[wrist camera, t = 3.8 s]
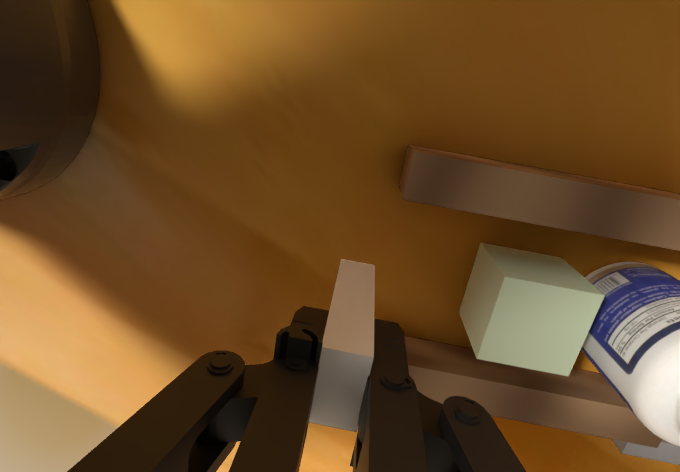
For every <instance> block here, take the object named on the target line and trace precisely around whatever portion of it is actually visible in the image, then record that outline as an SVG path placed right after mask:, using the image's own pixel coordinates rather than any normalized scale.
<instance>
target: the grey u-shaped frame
mask: <svg viewBox="0 0 680 472" xmlns="http://www.w3.org/2000/svg"><path fill="white" fill-rule="evenodd" d="M612 441H613V442H614V444H615V445H616V446H617V448H618V449H619V451H620V452H621V454H626V455H631V456H636V457H642V458H647V459H652V460H657V461H662V462H667V463H672V464H677V465H680V446H677V445H674V444H671V443H669V442H667V441H665V440H662V441H661V443H660V445H659V446H658V448H654V447H649V446H644V445H638V444H633V443H628V442H623V441H618V440H613V439H612Z"/></svg>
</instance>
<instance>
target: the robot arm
mask: <svg viewBox="0 0 680 472" xmlns="http://www.w3.org/2000/svg"><path fill="white" fill-rule="evenodd" d="M99 80H100V69H99V52H98V45H97V38H96V33H95V28H94V23H93V20H92V16H91V12H90V9H89V6H88V3H87V0H0V200H1V199H5V198H9V197H12V196H16V195H20V194H23V193H26V192H29V191H32V190H34V189H36V188H39V187H41V186H43V185H44V184H46V183H48V182H49V181H51V180H52V179H54V178H55V177H56V176H58V175H59V174H60V173H61V172H62V171H63V170H64V169H65V168H66V167H67V166H68V165H69V164H70V163H71V162H72V160H73V159H74V158H75V156H76V155H77V154H78V152H79V150H80V149H81V147H82V146H83V144H84V142H85V140H86V138H87V136H88V133H89V131H90V128H91V125H92V122H93V119H94V115H95V111H96V106H97V101H98V93H99ZM374 308H375V265H373V264H368V263H362V262H357V261H352V260H347V259H341V261H340V266H339V270H338V275H337V279H336V284H335V288H334V292H333V297H332V301H331V306H330V310H329V311H327V310H322V309H316V308H311V307H306V306H303V307H302V308H300V309H299V310H298V311H296V312H295V315H294V317H293V320H292V322H291V325H290V326H288V327H285V328H283V329H281V330H280V331H279V332H278V333H277V337H276V345H275V352H274V359H273V360H272V361H270V362H268V363H264V364H259V365H245V363H244V360H243V359H242V358H241V356H239V355H237V354H236V353H234V352H229V351H213V352H210V353H207V354H205V355H203V356H202V357H200V358H199V359H198V360H196V361H195V362H194V363H193V364H192V365H191V366H189V367H188V368H187V369H186V370H185V371H184V372H182V373H181V374H180V375H179V376H178V377H177V378H176V379H174V380H173V381H172V382H171V383H170V384H169V385H167V386H166V387H165V388H164V389H163V390H162V391H160V392H159V393H158V394H157V395H156V396H155V397H153V398H152V399H151V400H150V401H149V402H148V403H146V404H145V405H144V406H143V407H142V408H141V409H139V410H138V411H137V412H136V413H135V414H134V415H133V416H131V417H130V418H129V419H128V420H127V421H126V422H124V423H123V424H122V425H121V426H120V427H119V428H117V429H116V430H115V431H114V432H113V433H112V434H110V435H109V436H108V437H107V438H106V439H105V440H103V442H101V443H100V444H99V445H98V446H97V447H95V448H94V449H93V450H92V451H91V452H90V453H88V454H87V455H86V456H85V457H84V458H83V459H81V460H80V461H79V462H78V463H77V464H76V465H74V466H73V467H72V468H71V469H70V470H69V471H68V472H216V471H217V469H218V468H219V467H220V465H221V464H222V463H223V461H224V460H225V459H226V457H227V456H228V455H229V453H230V452H231V451H232V449H233V448H234V446H235V444H236V442H237V441H241V442H240V445H239V447H238V450H237V452H236V455H235V457H234V460H233V462H232V465H231V467H230V470H229V472H299V467H300V462H301V458H302V453H303V448H304V443H305V438H306V433H307V428H308V422H310V423H314V424H319V425H324V426H329V427H334V428H339V429H344V430H349V431H354V432H356V431H357V427H358V434H357V438H356V442H355V447H354V451H353V455H352V459H351V463H350V466H353V472H526V471H525V469H524V467H523V466H522V464H521V463H520V461H519V460H518V458H517V456H516V455H515V453H514V452H513V450H512V449H511V447H510V446H509V444H508V442H507V441H506V439H505V438H504V436H503V435H502V433H501V431H500V430H499V428H498V427H497V425H496V424H495V422H494V420H493V419H492V417H491V416H490V414H489V413H488V412H487V411H486V410H485V408H484V407H483V406H481V405H480V404H478V403H477V402H476V401H474V400H471V399H469V398H467V397H462V396H451V397H448V398H447V399H446V400H444V403H443V404H441V403H439V402H437V401H434V400H432V399H430V398H428V397H426V396H424V395H423V394H422V393H420V392H419V391H418V390H417V387H416V384H415V382H414V380H413V379H412V378H411V377H410V375H409V370H408V361H407V353H406V344H405V335H404V331H403V330H402V329H401V327H400V326H399V324H398V323H393V322H388V321H383V320H378V319H374Z"/></svg>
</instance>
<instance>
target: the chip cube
mask: <svg viewBox="0 0 680 472" xmlns="http://www.w3.org/2000/svg"><path fill="white" fill-rule="evenodd" d="M604 296H605V295H604V294H603V293H602V292H600V291H599V290H598V289H597V288H596V287H595V286H594V285H592V284H591V283H590V282H589V281H588V280H587V279H586V278H584V277H583V276H582V275H581V274H580V273H579V272H578V271H576V270H575V269H574V268H573V267H572V266H571V265H570V264H568V263H567V262H566V261H565V260H564V259H563V258H562V257H557V256H551V255H546V254H540V253H535V252H529V251H524V250H519V249H513V248H508V247H502V246H497V245H491V244H486V243H480V246H479V249H478V252H477V255H476V259H475V262H474V265H473V268H472V272H471V275H470V278H469V281H468V285H467V288H466V291H465V294H464V297H463V301H462V304H461V307H460V310H459V314H460V317H461V319H462V322H463V324H464V327H465V330H466V332H467V335H468V338H469V340H470V343H471V345H472V348H473V351H474V353H475V356H476V359H480V360H485V361H491V362H496V363H501V364H506V365H511V366H517V367H522V368H527V369H532V370H538V371H543V372H548V373H553V374H558V375H564V376H569V374H570V372H571V370H572V368H573V365H574V363H575V361H576V359H577V356H578V354H579V352H580V350H581V348H582V345H583V343H584V341H585V339H586V336H587V334H588V332H589V330H590V328H591V325H592V323H593V321H594V319H595V316H596V314H597V312H598V310H599V308H600V305H601V303H602V301H603V299H604Z"/></svg>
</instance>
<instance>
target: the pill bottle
mask: <svg viewBox="0 0 680 472" xmlns="http://www.w3.org/2000/svg"><path fill="white" fill-rule="evenodd" d="M584 278H586V279H587V280H588V281H589V282H590V283H591V284H592V285H594V286H595V287H596V288H597V289H598V290H599V291H600V292H602V293H603V294H604V295H605V296H604V299H603V301H602V303H601V305H600V308H599V310H598V312H597V314H596V316H595V319H594V321H593V323H592V325H591V328H590V330H589V332H588V334H587V336H586V339H585V341H584V343H583V345H582V348H581V350H582V352H583V353H584V354H585V355H586V356H587V357H588V359H589V360H590V361H591V362H592V364H593V365H594V366H595V367H596V368H597V370H598V371H599V372H600V373H601V374H602V376H603V377H604V378H605V379H606V381H607V382H608V383H609V384H610V385H611V387H612V388H613V389H614V390H615V391H616V393H617V394H618V395H619V396H620V398H621V399H622V400H623V401H624V402H625V404H626V405H627V406H628V407H629V409H630V410H631V411H632V412H633V413H634V415H635V416H636V417H637V418H638V419H639V420H640V421H641V422H642V423H643V424H644V426H645V427H647V428H648V429H649V430H650V431H651V432H652V433H653V434H655V435H656V436H658V437H660V438H661V439H663V440H665V441H667V442H669V443H671V444H674V445H677V446H680V281H679V280H677V279H676V278H674V277H672V276H671V275H669V274H667V273H666V272H664V271H662V270H660V269H658V268H656V267H654V266H652V265H649V264H645V263H641V262H618V263H613V264H609V265H606V266H603V267H601V268H599V269H597V270H595V271H593V272H591V273H590V274H588V275H587V276H586V277H584Z"/></svg>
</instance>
